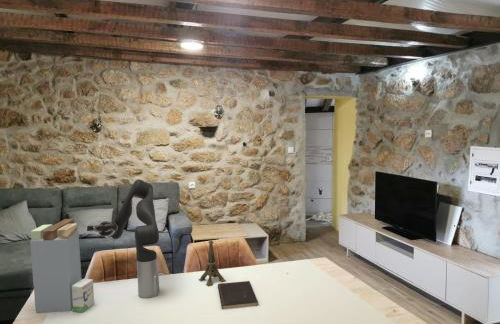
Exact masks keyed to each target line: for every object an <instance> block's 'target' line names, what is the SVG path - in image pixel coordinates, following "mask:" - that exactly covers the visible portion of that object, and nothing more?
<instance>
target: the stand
mask: <svg viewBox="0 0 500 324" xmlns="http://www.w3.org/2000/svg"><path fill="white" fill-rule="evenodd" d="M79 233H80V232H79V231H78V230H77V233H75V234H74V235H72V236H71V237H69V238H68V239H58V237H57V238H56V239H54V240H44V241H43V239H42V240H31V239H30V241H29V243H30V256H31V258H30V259H31V267H32V269H31V270H32V282H33V294H34V296H33V297H34V306H35V313H36V314H41V313H42V314H43V313H61V312H62V313H63V312H73V299H72V286H73V285H74V284H76V283H77V282H79V281H80V280H82V279H83V278H82V267H81V252H80V235H79Z"/></svg>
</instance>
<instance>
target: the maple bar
mask: <svg viewBox="0 0 500 324" xmlns="http://www.w3.org/2000/svg"><path fill="white" fill-rule="evenodd" d="M77 231H78V223H76V222H74V224H67V225H65V226H63V227H62V228H60V229H58V230H57V235H58V239H68V238H69V237H71V236H72V235H74V234H75V233H77Z"/></svg>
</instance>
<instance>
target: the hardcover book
mask: <svg viewBox="0 0 500 324" xmlns="http://www.w3.org/2000/svg"><path fill="white" fill-rule="evenodd" d="M217 289H218V296H219V301H220V306H221V310H226V309H236V308H245V307H253V306H255V307H256V306H258V303H259V301H258V299H257V296H256V294H255V291H254V288H253V287H252V284H251V281H250V280H246V281H245V280H244V281H234V282H233V281H232V282H220V283H218V284H217Z"/></svg>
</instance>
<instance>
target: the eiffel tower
mask: <svg viewBox="0 0 500 324" xmlns="http://www.w3.org/2000/svg"><path fill="white" fill-rule="evenodd" d="M208 244H209V245H208V247H209V248H208V255H207V256H208V257H207V258H208V259H207V261H206V268H205V269H204V273H203V274H202V275H201V276H200V278H199V279H198V281H199V282H205V281H206V278H207V277H208V279H207V281H206V284H205V286H206V287H212V286H214V284H213V279H212V278H214V279H215V278H218V281H219V282H220V283H226V282H227V280H226V279H225V278H224V276H223V275H222V274H221V273H220V270H219V269H218V267H217V263H218V262H217V261H216V257H215V251H214V246H213V245H214V241H213V240H208Z"/></svg>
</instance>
